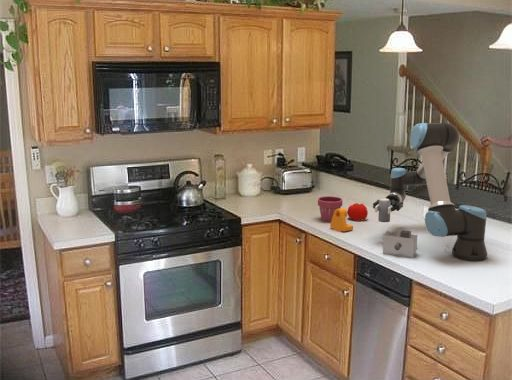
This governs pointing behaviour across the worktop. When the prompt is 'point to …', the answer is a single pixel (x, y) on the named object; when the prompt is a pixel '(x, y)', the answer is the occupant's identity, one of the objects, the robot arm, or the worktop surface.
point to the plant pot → (328, 206)
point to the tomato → (357, 212)
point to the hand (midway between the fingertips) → (382, 210)
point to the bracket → (340, 220)
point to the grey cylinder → (384, 210)
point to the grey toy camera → (400, 243)
